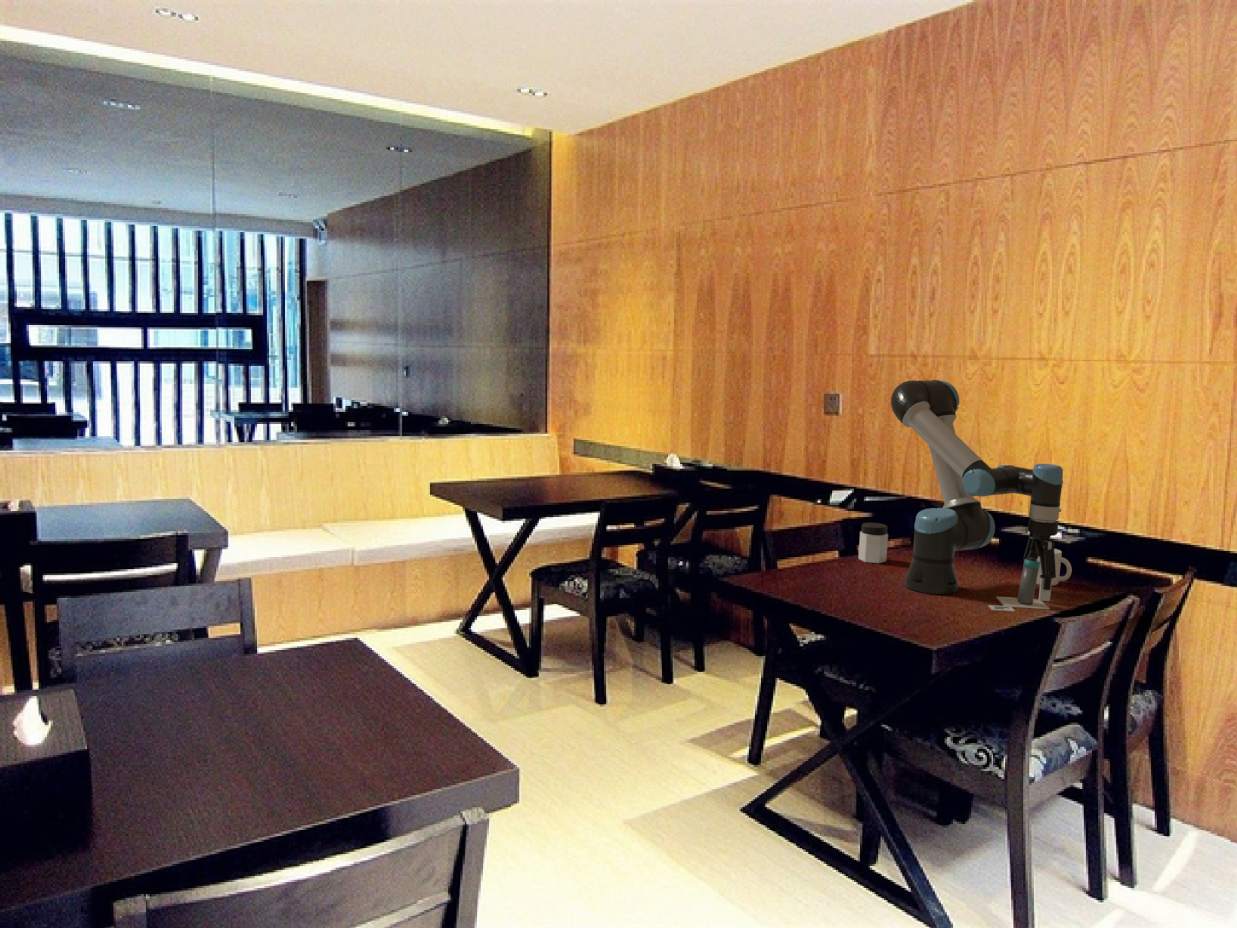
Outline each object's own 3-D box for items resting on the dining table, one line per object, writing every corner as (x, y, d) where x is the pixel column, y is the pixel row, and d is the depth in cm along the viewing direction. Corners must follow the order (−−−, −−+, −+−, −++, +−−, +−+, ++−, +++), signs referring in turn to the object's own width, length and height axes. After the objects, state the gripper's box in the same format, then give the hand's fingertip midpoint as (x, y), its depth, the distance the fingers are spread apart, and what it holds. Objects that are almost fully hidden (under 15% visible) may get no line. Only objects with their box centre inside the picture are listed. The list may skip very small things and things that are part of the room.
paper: (1004, 606, 252) (1004, 605, 252) (996, 597, 261) (996, 596, 261) (1049, 609, 251) (1050, 608, 250) (1039, 600, 259) (1039, 598, 259)
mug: (1075, 586, 275) (1078, 553, 274) (1063, 590, 270) (1066, 557, 269) (1036, 577, 284) (1039, 545, 283) (1024, 581, 279) (1027, 549, 278)
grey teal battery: (1020, 602, 253) (1029, 557, 252) (1014, 599, 257) (1022, 555, 256) (1035, 604, 253) (1043, 560, 252) (1028, 601, 257) (1036, 557, 256)
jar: (890, 563, 297) (892, 527, 295) (867, 564, 295) (870, 528, 294) (876, 556, 306) (879, 521, 304) (854, 557, 304) (857, 522, 302)
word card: (992, 610, 248) (992, 609, 248) (988, 606, 252) (988, 604, 252) (1015, 611, 247) (1015, 610, 247) (1010, 607, 251) (1011, 606, 251)
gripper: (1073, 530, 238) (1065, 607, 241) (1043, 511, 262) (1036, 582, 265) (1044, 528, 238) (1036, 605, 242) (1016, 510, 263) (1009, 580, 266)
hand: (1036, 593), depth 253 cm, fingers open, 13 cm apart
